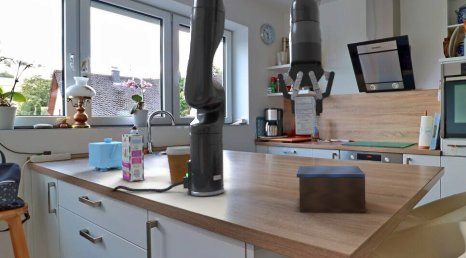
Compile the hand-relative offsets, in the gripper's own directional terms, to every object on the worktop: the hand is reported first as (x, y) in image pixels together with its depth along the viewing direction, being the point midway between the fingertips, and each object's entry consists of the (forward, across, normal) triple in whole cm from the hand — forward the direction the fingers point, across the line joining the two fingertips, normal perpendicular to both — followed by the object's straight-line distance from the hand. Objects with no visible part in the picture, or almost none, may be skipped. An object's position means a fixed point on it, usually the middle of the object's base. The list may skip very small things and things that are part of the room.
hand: (307, 115), depth 71 cm
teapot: (+21, +90, -52) cm, 106 cm away
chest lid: (+14, -5, -1) cm, 15 cm away
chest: (+22, -5, -1) cm, 22 cm away
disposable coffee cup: (+21, +45, -27) cm, 56 cm away
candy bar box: (+21, +65, -31) cm, 75 cm away
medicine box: (+5, 0, 0) cm, 5 cm away
